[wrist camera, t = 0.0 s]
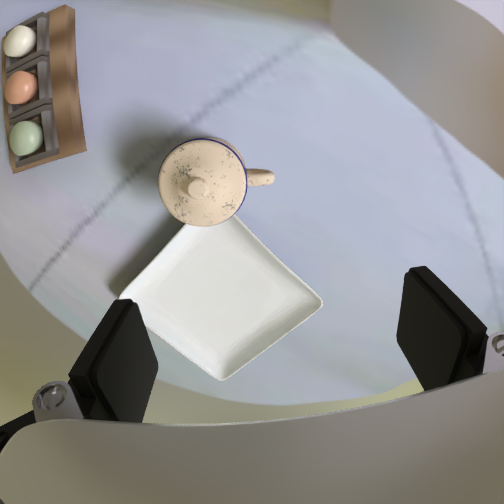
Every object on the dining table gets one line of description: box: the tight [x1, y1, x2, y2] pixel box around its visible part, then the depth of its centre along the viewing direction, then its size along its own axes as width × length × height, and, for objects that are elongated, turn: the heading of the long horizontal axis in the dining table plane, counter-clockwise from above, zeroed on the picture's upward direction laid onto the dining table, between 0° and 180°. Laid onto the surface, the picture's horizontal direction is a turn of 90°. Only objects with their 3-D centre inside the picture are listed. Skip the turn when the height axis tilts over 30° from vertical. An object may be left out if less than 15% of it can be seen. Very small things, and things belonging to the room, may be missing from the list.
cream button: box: [4, 25, 37, 58], centre depth 26 cm, size 4×4×2 cm
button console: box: [2, 5, 87, 174], centre depth 31 cm, size 22×12×5 cm, turn 6°
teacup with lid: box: [158, 138, 274, 227], centre depth 34 cm, size 12×9×12 cm
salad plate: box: [119, 214, 323, 381], centre depth 44 cm, size 21×21×3 cm
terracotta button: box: [5, 71, 38, 104], centre depth 28 cm, size 4×4×2 cm
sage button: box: [10, 120, 44, 156], centre depth 31 cm, size 4×4×2 cm
